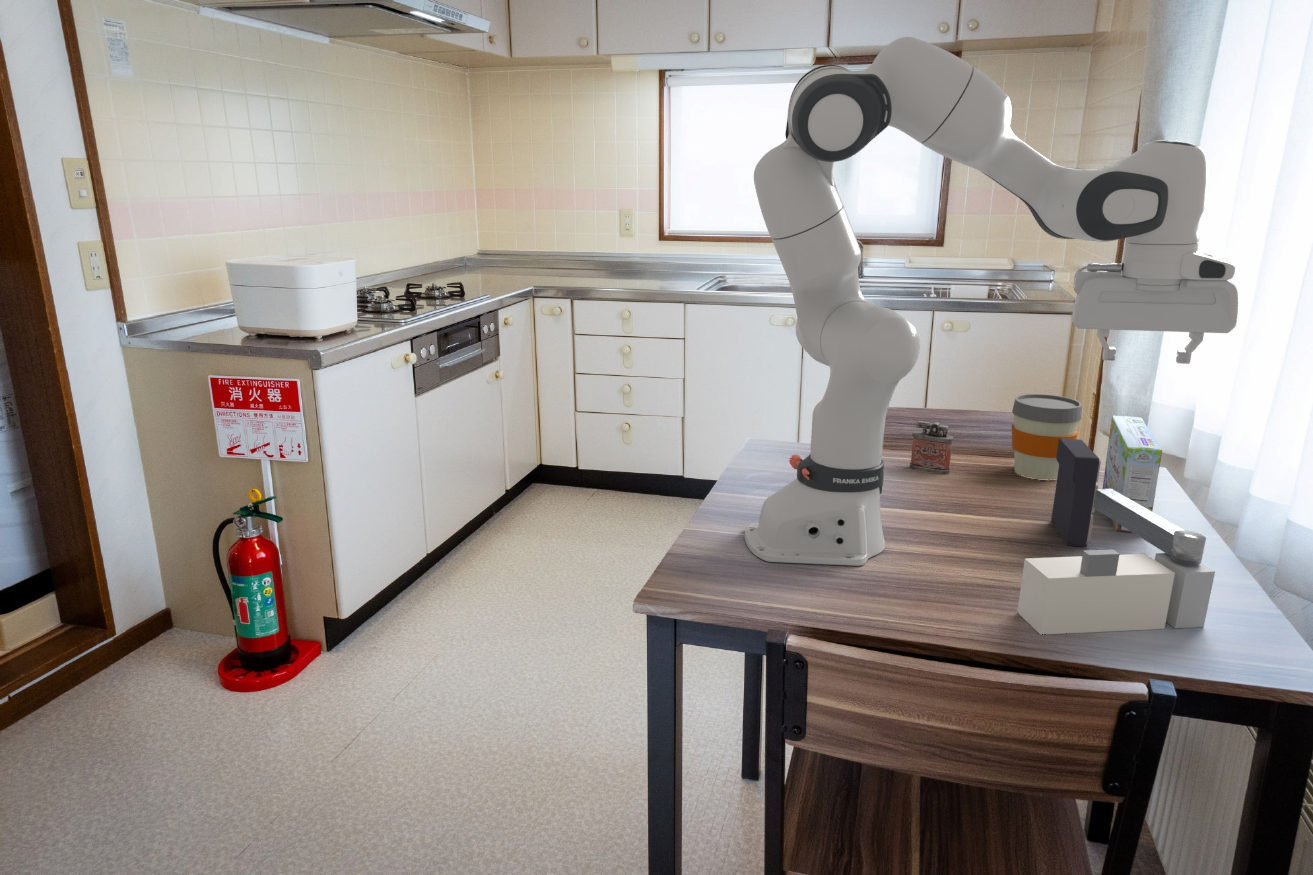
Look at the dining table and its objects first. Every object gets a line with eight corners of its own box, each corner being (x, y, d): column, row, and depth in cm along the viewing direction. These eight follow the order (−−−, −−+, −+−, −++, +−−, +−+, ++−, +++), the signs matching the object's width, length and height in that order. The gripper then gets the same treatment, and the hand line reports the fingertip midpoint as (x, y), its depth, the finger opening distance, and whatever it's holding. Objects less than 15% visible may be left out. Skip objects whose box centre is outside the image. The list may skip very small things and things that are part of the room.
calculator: (1091, 548, 137) (1105, 459, 133) (1062, 545, 138) (1075, 457, 134) (1073, 522, 148) (1086, 439, 143) (1047, 520, 148) (1058, 437, 144)
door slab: (1040, 634, 111) (1051, 556, 108) (1017, 612, 117) (1027, 537, 113) (1164, 628, 112) (1179, 551, 109) (1135, 607, 118) (1148, 533, 115)
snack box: (1098, 490, 163) (1110, 414, 159) (1131, 494, 161) (1144, 416, 157) (1113, 531, 144) (1127, 445, 140) (1151, 536, 142) (1166, 449, 138)
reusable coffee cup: (1004, 460, 180) (1013, 391, 176) (1070, 467, 176) (1081, 396, 172) (1004, 479, 169) (1013, 405, 165) (1074, 487, 165) (1086, 411, 160)
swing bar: (1207, 564, 112) (1212, 540, 111) (1181, 565, 111) (1186, 541, 110) (1111, 506, 131) (1115, 486, 130) (1089, 507, 131) (1092, 486, 130)
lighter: (951, 471, 174) (956, 423, 171) (947, 475, 171) (952, 427, 168) (912, 464, 178) (916, 418, 175) (907, 468, 175) (911, 421, 172)
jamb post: (1175, 628, 112) (1185, 572, 110) (1146, 606, 118) (1155, 553, 116) (1203, 626, 113) (1215, 571, 111) (1173, 605, 119) (1183, 552, 116)
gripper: (1077, 265, 120) (1066, 362, 124) (1249, 266, 113) (1231, 369, 117) (1074, 261, 126) (1064, 353, 130) (1237, 262, 118) (1221, 360, 122)
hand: (1145, 361), depth 123 cm, fingers open, 8 cm apart
